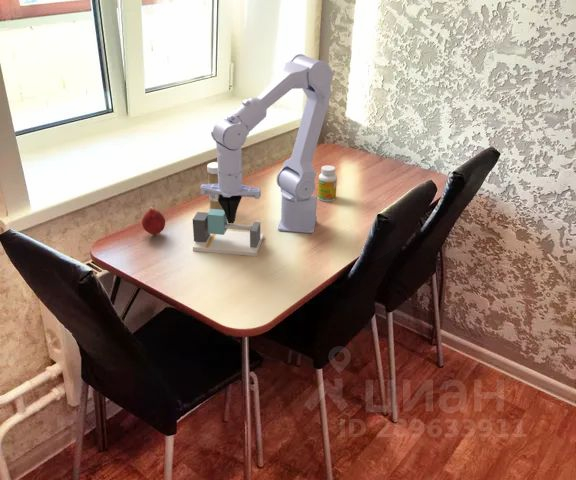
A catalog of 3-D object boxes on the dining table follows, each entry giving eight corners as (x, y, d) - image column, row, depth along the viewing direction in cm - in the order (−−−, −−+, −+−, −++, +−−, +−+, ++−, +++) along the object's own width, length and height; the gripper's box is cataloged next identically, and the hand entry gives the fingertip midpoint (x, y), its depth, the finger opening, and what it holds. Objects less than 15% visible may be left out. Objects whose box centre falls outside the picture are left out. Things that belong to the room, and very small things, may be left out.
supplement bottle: (315, 200, 170) (316, 169, 166) (320, 193, 175) (322, 163, 170) (332, 203, 169) (334, 172, 164) (337, 196, 173) (340, 166, 168)
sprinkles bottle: (228, 210, 164) (226, 165, 157) (213, 213, 161) (211, 168, 155) (220, 204, 167) (219, 160, 160) (206, 207, 165) (204, 163, 158)
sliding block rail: (263, 237, 150) (263, 212, 147) (256, 256, 141) (255, 230, 138) (202, 231, 152) (200, 206, 148) (191, 250, 143) (189, 224, 140)
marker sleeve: (227, 228, 147) (226, 210, 144) (224, 234, 144) (223, 215, 141) (211, 227, 147) (211, 208, 144) (208, 233, 144) (207, 214, 142)
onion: (170, 231, 152) (167, 204, 148) (159, 242, 147) (156, 213, 143) (150, 228, 153) (148, 200, 149) (139, 237, 148) (135, 210, 144)
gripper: (195, 174, 134) (198, 226, 141) (256, 179, 132) (256, 231, 139) (203, 163, 140) (206, 213, 147) (262, 168, 139) (262, 218, 145)
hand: (231, 221), depth 143 cm, fingers closed
